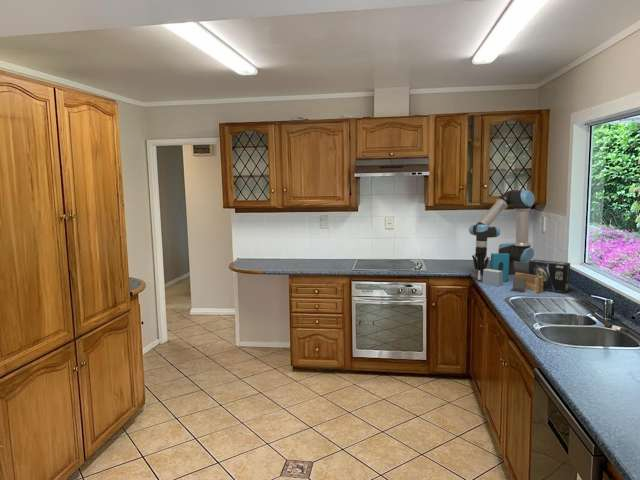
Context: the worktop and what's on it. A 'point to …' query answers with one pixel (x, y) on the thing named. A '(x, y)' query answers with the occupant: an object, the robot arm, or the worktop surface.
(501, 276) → the book
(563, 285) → the box
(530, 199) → the robot arm
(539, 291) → the wooden stepped piece
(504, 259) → the block
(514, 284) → the bookend
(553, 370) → the worktop surface
